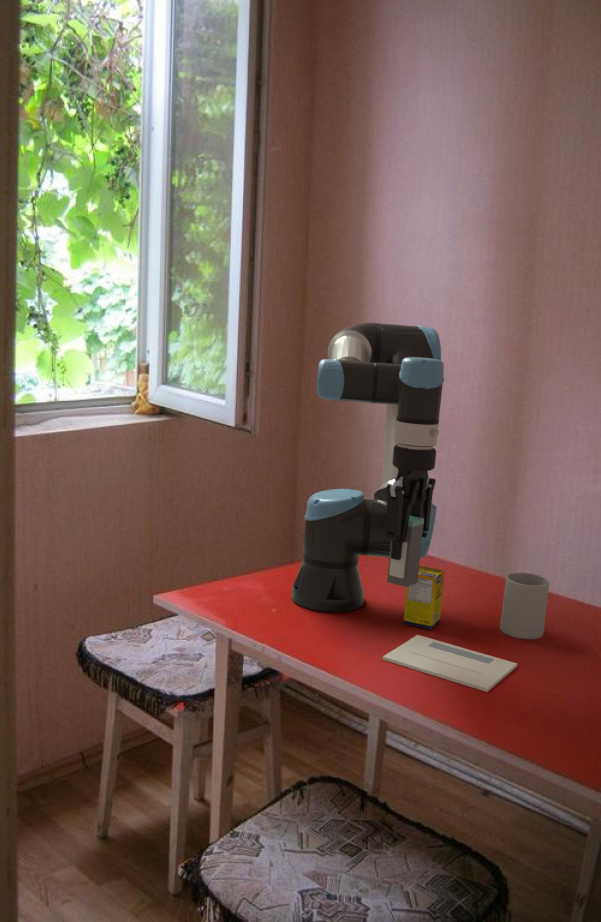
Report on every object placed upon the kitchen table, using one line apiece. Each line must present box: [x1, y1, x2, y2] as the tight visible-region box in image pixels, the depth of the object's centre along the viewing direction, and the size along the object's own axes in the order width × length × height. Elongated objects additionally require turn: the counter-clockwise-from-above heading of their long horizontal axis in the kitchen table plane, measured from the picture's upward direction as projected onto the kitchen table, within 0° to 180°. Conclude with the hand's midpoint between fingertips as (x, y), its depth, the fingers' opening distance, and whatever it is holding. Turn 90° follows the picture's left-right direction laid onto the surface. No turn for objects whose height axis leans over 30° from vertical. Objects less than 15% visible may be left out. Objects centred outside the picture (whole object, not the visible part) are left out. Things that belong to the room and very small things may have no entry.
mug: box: [499, 572, 550, 640], centre depth 191 cm, size 12×8×11 cm
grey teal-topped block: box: [386, 515, 424, 588], centre depth 171 cm, size 4×4×12 cm
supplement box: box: [403, 565, 446, 630], centre depth 190 cm, size 6×6×11 cm
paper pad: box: [382, 634, 518, 693], centre depth 172 cm, size 20×14×1 cm
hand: (403, 573), depth 172 cm, fingers closed on grey teal-topped block, 4 cm apart
